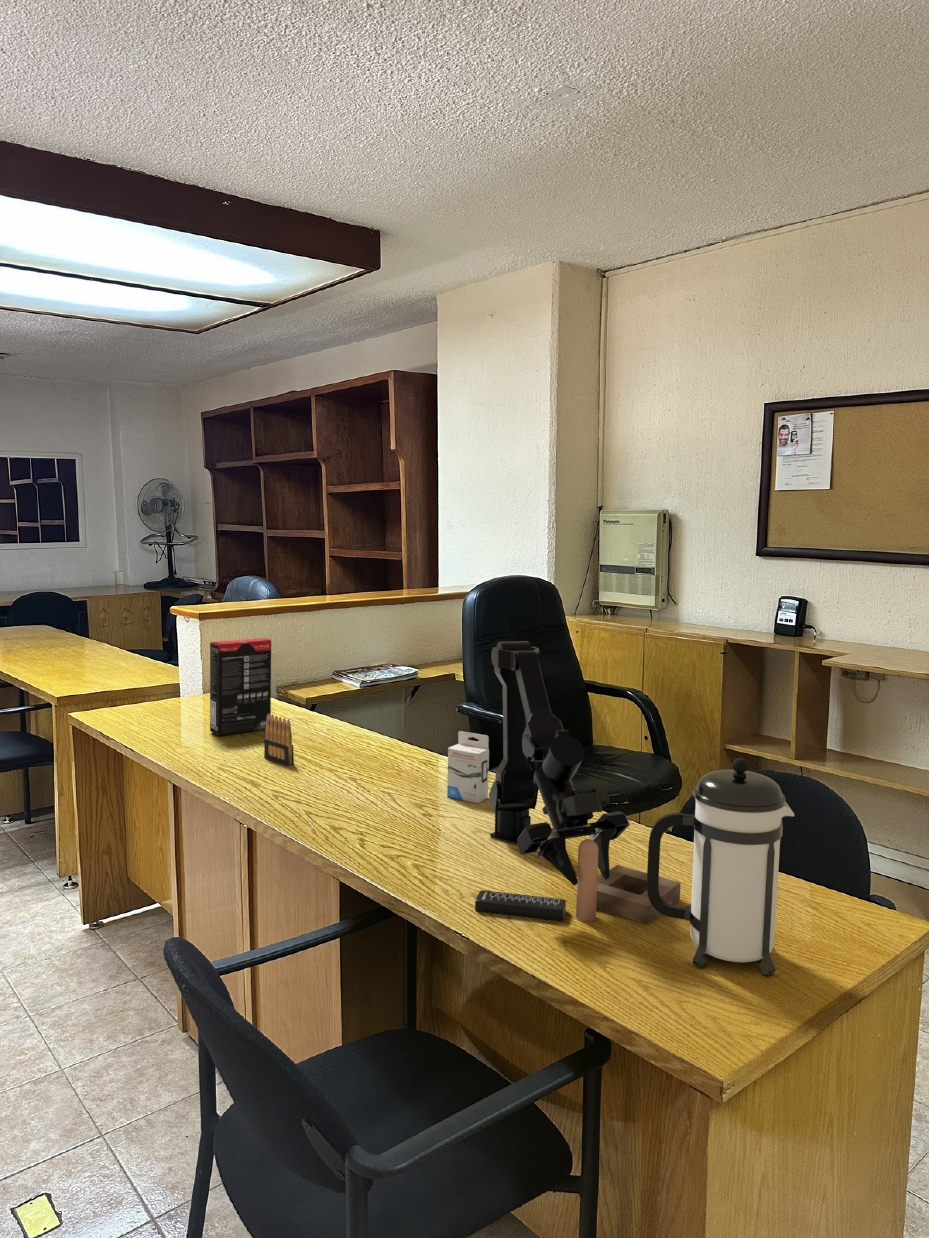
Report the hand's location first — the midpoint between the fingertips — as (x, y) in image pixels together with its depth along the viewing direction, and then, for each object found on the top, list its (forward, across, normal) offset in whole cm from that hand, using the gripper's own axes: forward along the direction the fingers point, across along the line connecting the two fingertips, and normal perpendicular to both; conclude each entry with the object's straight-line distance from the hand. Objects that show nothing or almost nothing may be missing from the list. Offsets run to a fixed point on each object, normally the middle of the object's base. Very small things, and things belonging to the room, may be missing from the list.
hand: (591, 881), depth 142 cm
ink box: (-40, +7, +50) cm, 65 cm away
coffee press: (+17, +12, -7) cm, 22 cm away
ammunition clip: (-73, -26, +83) cm, 113 cm away
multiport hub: (0, -9, +10) cm, 14 cm away
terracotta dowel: (+4, 0, +6) cm, 7 cm away
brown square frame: (+2, +10, +7) cm, 13 cm away
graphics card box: (-98, -29, +108) cm, 149 cm away
